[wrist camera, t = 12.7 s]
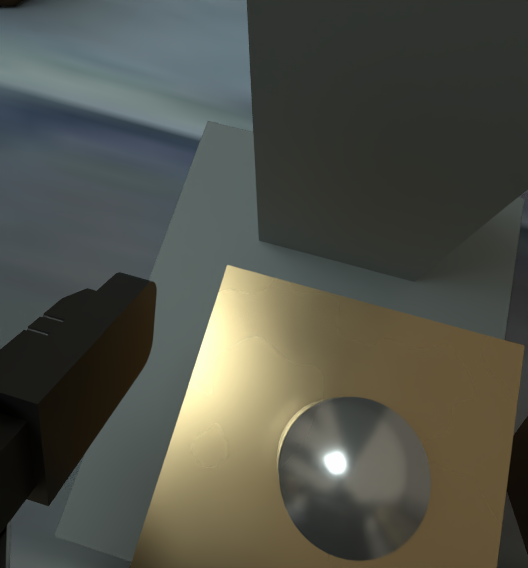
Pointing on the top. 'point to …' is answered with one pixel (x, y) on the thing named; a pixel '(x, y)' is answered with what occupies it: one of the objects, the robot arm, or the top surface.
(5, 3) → the beer bottle
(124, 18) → the top surface
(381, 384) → the block
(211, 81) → the top surface
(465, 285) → the press
